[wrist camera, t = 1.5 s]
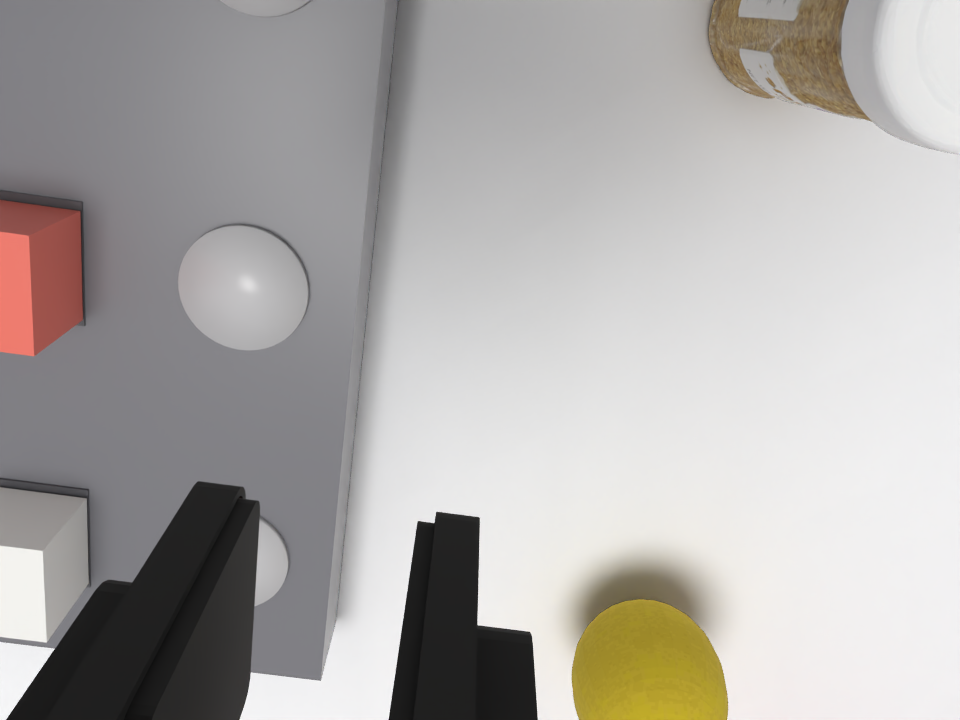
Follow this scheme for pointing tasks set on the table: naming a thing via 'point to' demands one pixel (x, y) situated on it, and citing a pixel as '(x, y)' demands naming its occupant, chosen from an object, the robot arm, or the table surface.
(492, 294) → the table surface
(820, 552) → the table surface
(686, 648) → the lemon
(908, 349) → the table surface
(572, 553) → the table surface
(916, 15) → the sprinkles bottle
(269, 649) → the switch panel
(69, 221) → the red switch
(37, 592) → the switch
